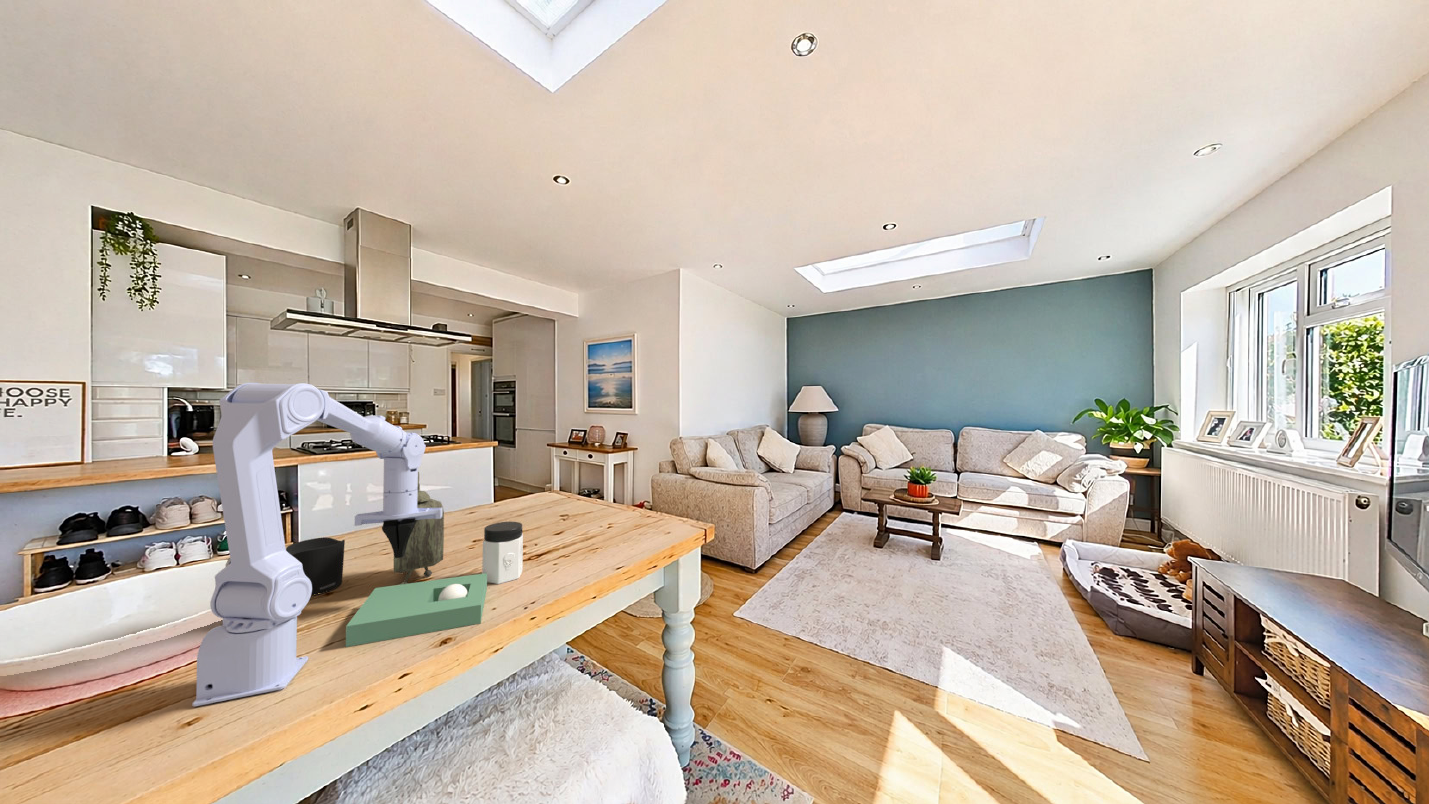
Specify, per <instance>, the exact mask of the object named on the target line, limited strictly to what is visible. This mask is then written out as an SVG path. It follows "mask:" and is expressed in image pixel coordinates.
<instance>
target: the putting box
mask: <svg viewBox="0 0 1429 804" xmlns="http://www.w3.org/2000/svg"><path fill="white" fill-rule="evenodd" d="M452 584H460V585H463V586H464V587H465V588H466V589H467V592H468V596H467V597H462V598H455V599H449V600H442V601H438V599H439V595H440V593H441V592H442V591H443V589H445V588H446V587H447V586H449V585H452ZM487 588H488V582H487V573H484V574H482V573H477V574H476V573H475V574H470V575H463V576H454V577H448V578H439V579H434V580H433V579H432V580H425V581H424V580H423V581H417V582H411V583H408V584H402V585H400V584H397V585H387V586H380V587H375V588H374V589H373V590H372V592H371V593H370V595H369V596H368V597H367V598H366V599H365V601H364V602H363V604H362V605H361V606H360V608H358V610H357V611H356V612H355V614H354V615H353V617H352V618H351V619H350V620H349V622H348V623H347V624H346V626H345V647H346V648H348V647H354V646H359V645H366V644H371V643H377V642H382V641H383V642H384V641H387V640H388V641H389V640H394V639H399V638H406V637H411V636H416V635H422V634H428V633H433V632H439V631H446V630H451V629H455V628H463V627H468V626H474V625H479V624H481V623H482V617H483V611H484V607H485V601H486V597H487V596H486V595H487V592H488V591H487V590H488V589H487Z"/></svg>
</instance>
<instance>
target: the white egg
mask: <svg viewBox="0 0 1429 804" xmlns="http://www.w3.org/2000/svg"><path fill="white" fill-rule="evenodd" d="M467 596H468V592H467V589H466V588H465V587H464V586H463V585H460V584H452V585H449V586H447V587H446V588H445V589H443V591H442V592H441V593H440V595H439V599H438V601H442V600H449V599H455V598H462V597H467Z"/></svg>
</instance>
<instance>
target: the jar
mask: <svg viewBox="0 0 1429 804" xmlns="http://www.w3.org/2000/svg"><path fill="white" fill-rule="evenodd" d="M483 531H484V532H483V535H484V536H483V539H484V540H482V567H481V568H482V571H481V572H482V573H481V574H484V573H487V583H489V584H496V585H501V584H504V583H508V582H511V581H515V580H518V579H520V577H521V576H522V575H521V574H522V573H523V567H524V566H523V562H524V561H523V559H524V558H523V556H524V554H523V551H524V549H523V548H524V547H523V546H524V533H523V524H522V523H521V522H517V521H501V522H495V523H492V524H488V525H486V526H485V527H484V530H483Z"/></svg>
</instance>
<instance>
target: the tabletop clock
mask: <svg viewBox="0 0 1429 804" xmlns="http://www.w3.org/2000/svg"><path fill="white" fill-rule="evenodd" d="M417 508H442V518H441V519H435V518H432V519H420V520H417V523H416V524H415V526H414V528H413V530H412V532H411V535H410V537H409V540H408V543H407V546H406V551H405V555H404V556H403V557H401V558H394V557H393V574H396V573H399V574H400V573H403V574H405V573H406V575H405V577H404V581H402V582H401V583H399V585H402V584H409V583H408V580H409V579H410V577H411V575H412V573H413V572H415V571H416V570H417V569H418V570H419V569H424V572H423V576H424V577H425V578H428V577H429V578H430V576H432V574H433V571H432V570H431V569H429V567H434V566H435V565H437V564H439V563H440V562H442V561H443V560H444V546H445V545H444V543H445V542H444V541H445V540H444V538H445V535H444V534H445V521H444V520H445V514H444V513H445V511H444V507H443V503H442V501H439V500H436V499H433V498H431V496H430V494H428V492H427V491H424V490H421V484H420V472H419V471H418V498H417ZM404 572H405V573H404Z"/></svg>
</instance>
